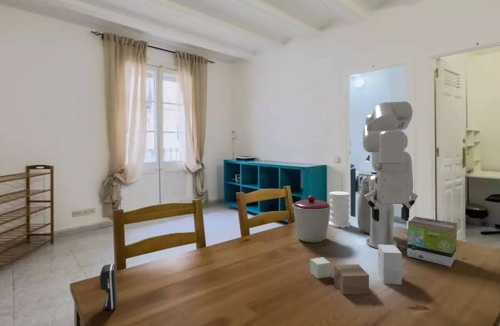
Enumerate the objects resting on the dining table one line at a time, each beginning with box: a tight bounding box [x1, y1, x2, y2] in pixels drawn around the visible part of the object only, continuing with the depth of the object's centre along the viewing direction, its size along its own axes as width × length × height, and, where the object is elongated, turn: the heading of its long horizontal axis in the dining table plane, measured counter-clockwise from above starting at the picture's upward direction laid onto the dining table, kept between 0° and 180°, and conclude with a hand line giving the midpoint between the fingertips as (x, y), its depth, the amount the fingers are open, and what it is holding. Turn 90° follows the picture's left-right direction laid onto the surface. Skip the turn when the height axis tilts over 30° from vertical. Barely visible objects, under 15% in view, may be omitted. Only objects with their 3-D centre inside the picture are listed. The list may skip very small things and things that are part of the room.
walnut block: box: [333, 263, 370, 295], centre depth 93 cm, size 8×8×6 cm
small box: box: [377, 244, 403, 286], centre depth 98 cm, size 8×6×10 cm
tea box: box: [406, 216, 458, 268], centre depth 115 cm, size 15×10×15 cm
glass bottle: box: [357, 177, 370, 234], centre depth 148 cm, size 10×10×28 cm
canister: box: [291, 195, 331, 244], centre depth 139 cm, size 18×18×21 cm
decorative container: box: [328, 190, 352, 229], centre depth 162 cm, size 12×12×18 cm
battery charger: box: [99, 263, 118, 310], centre depth 85 cm, size 7×4×11 cm, turn 20°
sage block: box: [309, 257, 331, 279], centre depth 103 cm, size 5×5×5 cm
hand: (390, 220), depth 97 cm, fingers open, 9 cm apart
